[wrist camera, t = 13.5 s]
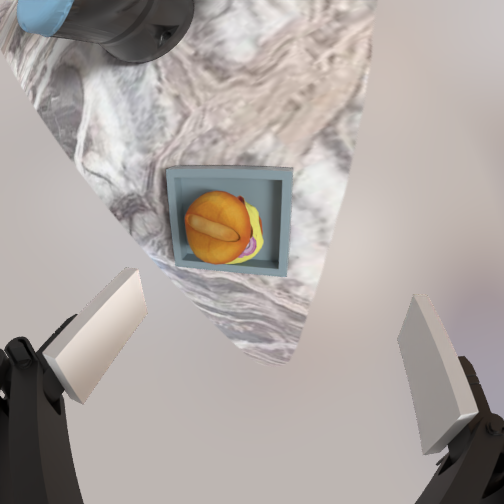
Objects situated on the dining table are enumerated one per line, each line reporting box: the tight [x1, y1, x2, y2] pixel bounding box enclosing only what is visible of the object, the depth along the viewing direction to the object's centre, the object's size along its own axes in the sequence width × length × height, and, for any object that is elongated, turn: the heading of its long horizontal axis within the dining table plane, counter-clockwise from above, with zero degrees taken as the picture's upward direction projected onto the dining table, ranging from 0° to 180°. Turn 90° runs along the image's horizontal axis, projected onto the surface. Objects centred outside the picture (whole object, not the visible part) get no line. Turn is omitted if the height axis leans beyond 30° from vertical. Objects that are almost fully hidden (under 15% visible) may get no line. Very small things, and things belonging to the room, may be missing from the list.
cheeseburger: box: [185, 191, 264, 265], centre depth 39 cm, size 10×11×10 cm
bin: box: [166, 165, 293, 277], centre depth 41 cm, size 15×17×3 cm
